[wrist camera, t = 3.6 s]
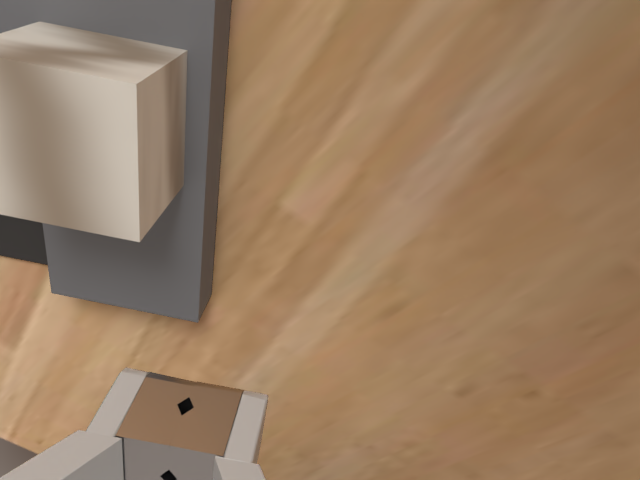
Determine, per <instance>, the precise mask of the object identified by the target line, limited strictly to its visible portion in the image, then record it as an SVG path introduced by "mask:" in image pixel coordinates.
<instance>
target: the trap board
mask: <svg viewBox="0 0 640 480" xmlns="http://www.w3.org/2000/svg"><path fill="white" fill-rule="evenodd" d="M231 1H232V0H0V33H3V32H6V31H10V30H13V29H16V28H20V27H23V26H26V25H29V24H33V23H36V22H39V21H40V22H45V23H50V24H55V25H61V26H66V27H71V28H76V29H81V30H86V31H91V32H96V33H102V34H107V35H112V36H117V37H122V38H127V39H132V40H137V41H143V42H148V43H153V44H158V45H163V46H168V47H173V48H178V49H184V50H188V52H187V87H186V121H185V156H184V185H183V187H182V188H181V189H180V191H179V192H178V193H177V195H176V196H175V197H174V198H173V200H172V201H171V202H170V204H169V205H168V206H167V208H166V209H165V210H164V211H163V213H162V214H161V215H160V217H159V218H158V219H157V221H156V222H155V223H154V224H153V226H152V227H151V228H150V230H149V231H148V232H147V234H146V235H145V236H144V237H143V239H142V240H141V241H140V242H136V241H131V240H126V239H121V238H116V237H111V236H106V235H101V234H96V233H91V232H86V231H81V230H76V229H71V228H66V227H61V226H56V225H51V224H46V223H41V222H36V221H31V220H26V219H21V218H16V217H11V216H6V215H1V214H0V255H1V256H6V257H11V258H16V259H21V260H26V261H31V262H36V263H41V264H46V265H48V269H49V277H50V284H51V292H52V293H54V294H59V295H64V296H69V297H74V298H79V299H84V300H89V301H94V302H99V303H104V304H109V305H114V306H119V307H124V308H129V309H134V310H139V311H144V312H149V313H153V314H158V315H163V316H168V317H173V318H178V319H183V320H188V321H193V322H199V320H200V318H201V315H202V313H203V311H204V309H205V307H206V305H207V303H208V301H209V299H210V297H211V294H212V280H213V266H214V251H215V236H216V221H217V207H218V192H219V177H220V163H221V148H222V133H223V118H224V104H225V89H226V74H227V59H228V45H229V30H230V15H231Z"/></svg>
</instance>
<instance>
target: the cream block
mask: <svg viewBox="0 0 640 480" xmlns="http://www.w3.org/2000/svg"><path fill="white" fill-rule="evenodd" d="M187 52H188V50H184V49H178V48H173V47H168V46H163V45H158V44H153V43H148V42H143V41H137V40H132V39H127V38H122V37H117V36H112V35H107V34H102V33H96V32H91V31H86V30H81V29H76V28H71V27H66V26H61V25H55V24H50V23H45V22H40V21H39V22H36V23H33V24H29V25H26V26H23V27H20V28H16V29H13V30H10V31H6V32H3V33H0V214H1V215H6V216H11V217H16V218H21V219H26V220H31V221H36V222H41V223H46V224H51V225H56V226H61V227H66V228H71V229H76V230H81V231H86V232H91V233H96V234H101V235H106V236H111V237H116V238H121V239H126V240H131V241H136V242H140V241H141V240H142V239H143V237H144V236H145V235H146V234H147V232H148V231H149V230H150V228H151V227H152V226H153V224H154V223H155V222H156V221H157V219H158V218H159V217H160V215H161V214H162V213H163V211H164V210H165V209H166V208H167V206H168V205H169V204H170V202H171V201H172V200H173V198H174V197H175V196H176V195H177V193H178V192H179V191H180V189H181V188H182V187H183V185H184V156H185V121H186V87H187Z"/></svg>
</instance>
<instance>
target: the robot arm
mask: <svg viewBox="0 0 640 480" xmlns="http://www.w3.org/2000/svg"><path fill="white" fill-rule="evenodd" d="M267 403H268V395H267V394H262V393H256V392H251V391H245V390H241V389H236V388H230V387H225V386H219V385H213V384H208V383H202V382H193V381H188V380H184V379H179V378H175V377H170V376H165V375H161V374H156V373H152V372H145V371H141V370H136V369H131V368H125V369H123V370H122V371H121V372H120V373H119V375H118V377H117V378H116V380H115V382H114V384H113V385H112V387H111V389H110V390H109V392H108V394H107V396H106V397H105V399H104V401H103V402H102V404H101V406H100V408H99V409H98V411H97V413H96V414H95V416H94V418H93V420H92V421H91V423H90V425H89V426H88V428H87V430H86V431H82V430H77V431H76V432H74V433H73V434H71V435H69V436H68V437H66V438H64V439H63V440H61V441H59V442H58V443H56V444H55V445H53V446H51V447H50V448H48V449H46V450H45V451H43V452H41V453H40V454H38V455H36V456H35V457H33V458H32V459H30V460H28V461H27V462H25V463H23V464H22V465H20V466H18V467H17V468H15V469H14V470H12V471H10V472H9V473H7V474H6V475H4V476H2V477H1V478H0V480H266V479H265V477H264V474H263V472H262V469H261V467H260V464H257V460H258V456H259V450H260V444H261V439H262V433H263V427H264V421H265V415H266V409H267Z"/></svg>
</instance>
